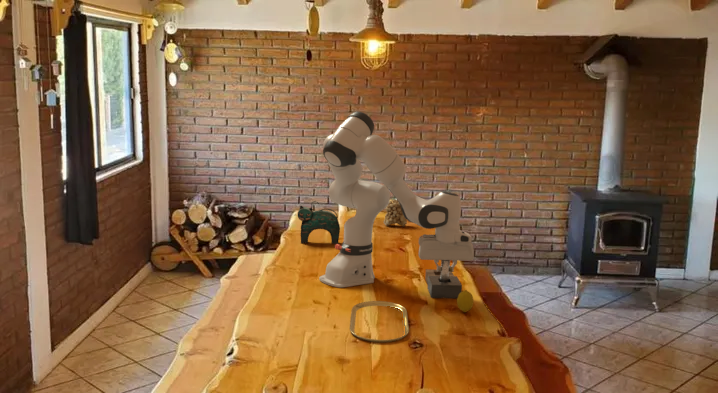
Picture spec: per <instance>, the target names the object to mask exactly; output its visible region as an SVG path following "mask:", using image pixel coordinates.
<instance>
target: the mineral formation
mask: <svg viewBox="0 0 718 393" xmlns="http://www.w3.org/2000/svg"><path fill="white" fill-rule="evenodd" d="M385 211H386V213H385V215H384V220H383V224H384V225H385V226H388V227H389V226H390V225H395V224H397V225H399V226H401V227H405V226H406V225H407V223H408V220H407V219H406V218H405V217H404V215H403V212H402V209H401V205H400V203H399V202H398V200H397V199H392V200H390V201H389V204H388V205H387V207H386V208H385Z"/></svg>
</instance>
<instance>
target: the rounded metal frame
mask: <svg viewBox="0 0 718 393" xmlns="http://www.w3.org/2000/svg"><path fill="white" fill-rule="evenodd" d="M374 306H375V307H378V306H379V307H380V306H381V307H387V306H390V307H389V308H391V307H395V308H398V309H400V310H401V311H402V312H403V318H404V326H405V335H404V336H403V335H402V336H400V337H397V338H390V339H376V338H375V339H373V338H367V337H363V336H360V335H358V334H356V332H355V326H356V318H357V316H356V315H357V311H358V310H360V309H362V308H366V307H374ZM395 308H394V309H395ZM349 331H350V333H351V334H352V335H353V336H354V337H356V338H357V339H360V340H362V341H365V342H366V341H367V342H370V343H392V341H393V342H397V341H400V340H402V339H403V338H405V337H406V336H407V335H408V334H409V332H410V328H409V319H408V312H407V309H406V308H405V307H404V306H402V305H400V304H398V303H394V302H391V301H384V300H383V301H382V300H370V301H361V302H359V303H357V304H355V305H353V306H352V307H351V313H350V320H349ZM396 340H397V341H396Z"/></svg>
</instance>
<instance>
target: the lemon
mask: <svg viewBox="0 0 718 393" xmlns="http://www.w3.org/2000/svg"><path fill="white" fill-rule="evenodd" d="M456 304H457V305H456V306H457V308H458V309H459V310H460V311H462V312H463V313H466V312H469V311H470V310H472V308H473V306H474V297H473V294H472V293H471V292H470V291H468V290H467V289H464V290H463V291H462V292H461V293H460V294H459V295H458V298H456Z"/></svg>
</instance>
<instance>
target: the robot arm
mask: <svg viewBox="0 0 718 393" xmlns="http://www.w3.org/2000/svg"><path fill="white" fill-rule="evenodd" d="M374 130H375V124H374V122H373V120H372V118H371V117H370V115H368V114H367V113H364V112H362V111H359V110H358V111H355V112H352V113H351V114H349V115H348V116H347V117H346V119H345V120H344V121H342V123H341V124H340V125H339V126H338V127H337V128H336V130H335V131H334V132H333V133H331V134H329V135H328V136H326V137H325V139H324V141H323V145H322V148H323V150H322V155H323V157H324V159H325V160H326V161H327V165H328V166H329V168H330V170H331V172H332V175H333V177H334V180H333V181H332V182H331V183H330V186H329V187H328V196H329V199H330V201H331V202H332V203H334V204H337V205H339V206H342V207H347V208H352V209H353V208H354V209H356V212H355V215H353V216H352V217H349V218H348V219H347V220H346V221H345V223H344V225H343V242H342V244H339V243H338V244H334V248H335V249H336V250H339V252H338V254H336V256H334V257H333V258H332V259H331V261H329V262H328V263H327V265H326V268H325V273H324V274H322V275H320V276H319V279H318V280H319V281H320V282H322V283H323V284H325V285H328V286H332V287H335V288H347V287H353V286H354V287H355V286H359V285H367V284H374V282H375V274H374V269H373V267H374V266H373V258H372V257H373V256H372V253H373V249H374V247H373V246H374V245H373V242H372V239H373V227H374V222H375V220H376V218H377V216H378V215H379V214H381V213H380V212H382V211H383V210H386V207H387V205H388V204H389V201H391V193H392V195H393V196H394V198H395V200H398V202H399V203H400V205H401V209H402V212H403V215H404V217H405V218H406V220H407V222H410V223H412V224H416V225H417V226H419V227H422V228H423V229H426V230H427V229H428V230H431V229H434V230H435V231H434V234H423V235H420V236H419V238H418V245H419V248H418V257H419V259H420V260H425V261H426V260H427V261H434V264H435V265H436V270H437V271H441V265H439V264H438V263H439V262H440V261H441V260H450V261H452V264H451V265H450V269H449V272H452V273H453V272H454V271H455V270H454V268H455V267H456V266H457V265H458V261H461V262H462V261H463V262H464V261H468V262H470V261H473V260H474V257H475V256H474V255H475V250H474V245H473V243H472V240H473V239H472V236H471V234H470V233H469V232H466V231H463V230H461V228H460V227H461V226H460V219H461V215H462V214H461V213H462V202H461V197H460V196H459V195H458V193H455V192H451V191H447V190H442V191H439V193H438V194H437V195H435V196H433V197H432V198H429V199H426V198H423V197H421V196H420V195H417V194H415V193H414V192H413V191H412V189H411V188H410V187H409V185H408V183H407V182H406V181H405V180H404V177H405V175H406V172H407V166H406V164H405V163H404V161H403V159H402V157H401V156H400V155H399V154H398V152H397V150H395V149H394V148H393V147H392V145H391V144H390V143H389V142H388V141H386V139H384V138H383V137H382V136H380V135H379V134H375V133H374ZM373 133H374V134H373ZM361 162H363V163H364V165H366V167H367V168H368V170H369V171H370V172H371V173H372V174H373V176H374V177H375V178H376V179H377V180H378V182H380V183H378V182H376V181H367V180H362V179H360V178H361V176H362V175H363V166H362V163H361Z"/></svg>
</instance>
